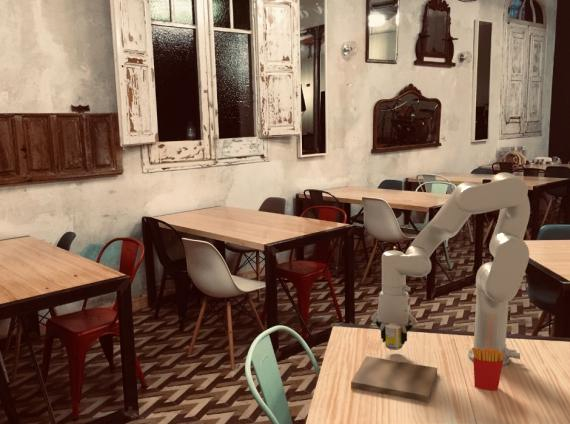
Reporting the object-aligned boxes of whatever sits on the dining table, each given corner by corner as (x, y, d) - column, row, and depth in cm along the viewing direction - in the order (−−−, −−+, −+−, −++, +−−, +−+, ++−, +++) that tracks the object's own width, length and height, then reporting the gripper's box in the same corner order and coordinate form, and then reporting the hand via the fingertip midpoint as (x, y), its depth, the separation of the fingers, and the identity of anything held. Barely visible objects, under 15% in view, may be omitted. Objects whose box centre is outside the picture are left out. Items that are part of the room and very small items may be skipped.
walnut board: (437, 373, 169) (437, 367, 169) (428, 402, 153) (428, 395, 153) (366, 361, 178) (366, 356, 177) (350, 388, 161) (351, 381, 161)
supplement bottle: (399, 343, 186) (399, 314, 184) (404, 350, 181) (404, 320, 179) (383, 344, 185) (383, 315, 184) (388, 351, 180) (387, 321, 178)
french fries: (500, 385, 162) (503, 347, 160) (501, 392, 158) (503, 353, 156) (470, 381, 165) (472, 343, 162) (469, 387, 161) (472, 348, 159)
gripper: (422, 287, 179) (422, 340, 183) (370, 283, 186) (371, 334, 189) (418, 295, 173) (418, 349, 176) (364, 290, 179) (365, 343, 183)
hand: (393, 341), depth 183 cm, fingers closed on supplement bottle, 5 cm apart
